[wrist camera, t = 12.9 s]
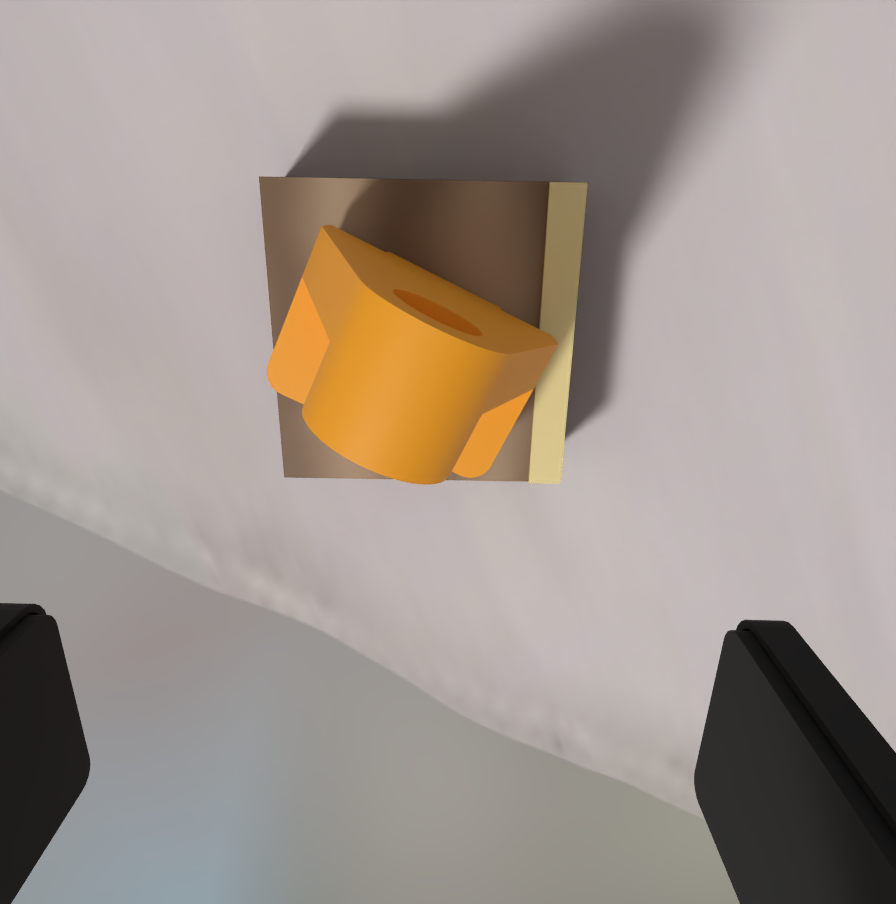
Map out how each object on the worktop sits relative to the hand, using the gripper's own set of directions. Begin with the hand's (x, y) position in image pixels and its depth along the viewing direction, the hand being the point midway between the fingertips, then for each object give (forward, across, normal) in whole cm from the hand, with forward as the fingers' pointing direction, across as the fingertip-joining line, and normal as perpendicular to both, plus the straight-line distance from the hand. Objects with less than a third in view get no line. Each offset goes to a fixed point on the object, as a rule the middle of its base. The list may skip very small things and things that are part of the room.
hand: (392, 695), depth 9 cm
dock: (+26, +1, 0) cm, 26 cm away
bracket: (+22, +1, 0) cm, 22 cm away
